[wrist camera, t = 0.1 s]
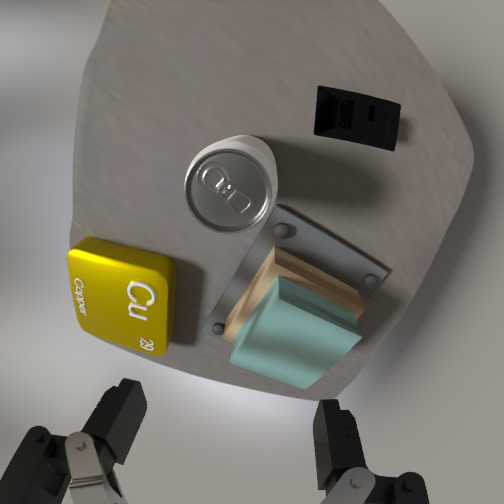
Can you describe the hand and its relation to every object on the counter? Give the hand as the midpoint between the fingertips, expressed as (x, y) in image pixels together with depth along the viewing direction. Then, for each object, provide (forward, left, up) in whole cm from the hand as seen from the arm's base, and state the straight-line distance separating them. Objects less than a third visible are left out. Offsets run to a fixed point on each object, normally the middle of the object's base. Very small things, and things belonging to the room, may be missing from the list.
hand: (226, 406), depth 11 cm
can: (-5, -4, -23) cm, 23 cm away
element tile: (+18, -11, -23) cm, 31 cm away
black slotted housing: (-16, +4, -23) cm, 28 cm away
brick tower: (+7, +9, -22) cm, 25 cm away
